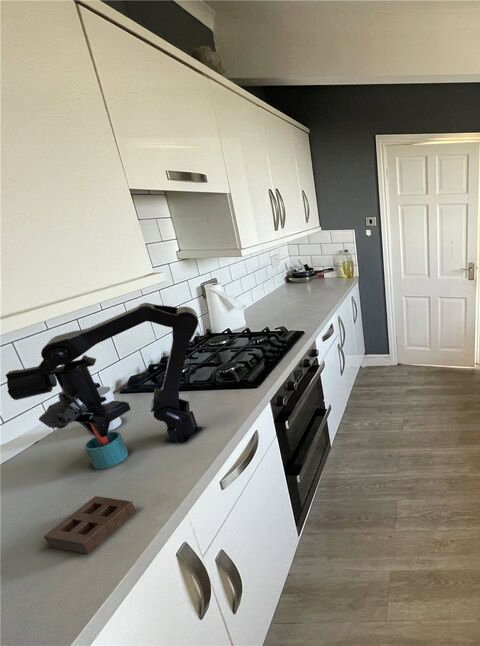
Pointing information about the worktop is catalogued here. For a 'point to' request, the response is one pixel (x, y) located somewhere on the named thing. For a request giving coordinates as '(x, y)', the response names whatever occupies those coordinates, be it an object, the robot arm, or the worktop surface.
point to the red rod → (100, 439)
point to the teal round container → (107, 451)
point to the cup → (108, 393)
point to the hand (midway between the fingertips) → (101, 435)
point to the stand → (90, 524)
